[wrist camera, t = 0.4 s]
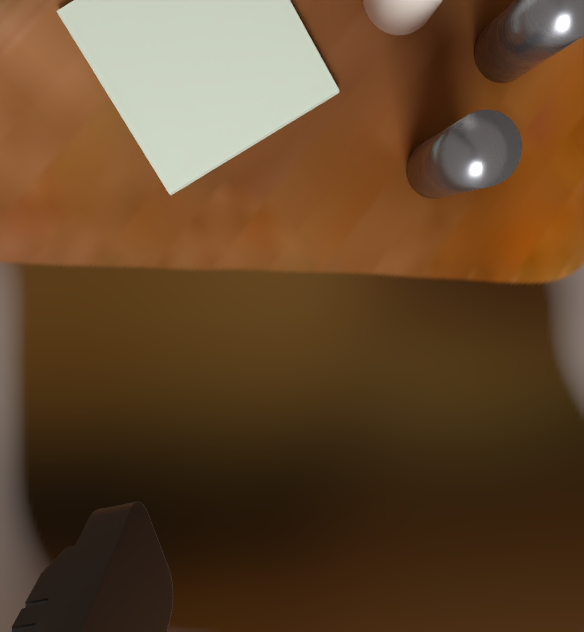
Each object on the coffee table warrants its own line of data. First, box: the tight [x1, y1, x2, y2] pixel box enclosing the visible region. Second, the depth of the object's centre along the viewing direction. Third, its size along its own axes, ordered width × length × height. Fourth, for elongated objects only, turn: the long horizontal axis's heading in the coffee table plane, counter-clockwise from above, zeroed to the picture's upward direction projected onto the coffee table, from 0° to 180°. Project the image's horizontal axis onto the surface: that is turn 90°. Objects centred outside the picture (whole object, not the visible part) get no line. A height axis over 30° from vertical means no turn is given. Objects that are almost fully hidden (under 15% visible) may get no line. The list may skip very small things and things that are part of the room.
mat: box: [57, 0, 339, 195], centre depth 32 cm, size 12×12×1 cm
